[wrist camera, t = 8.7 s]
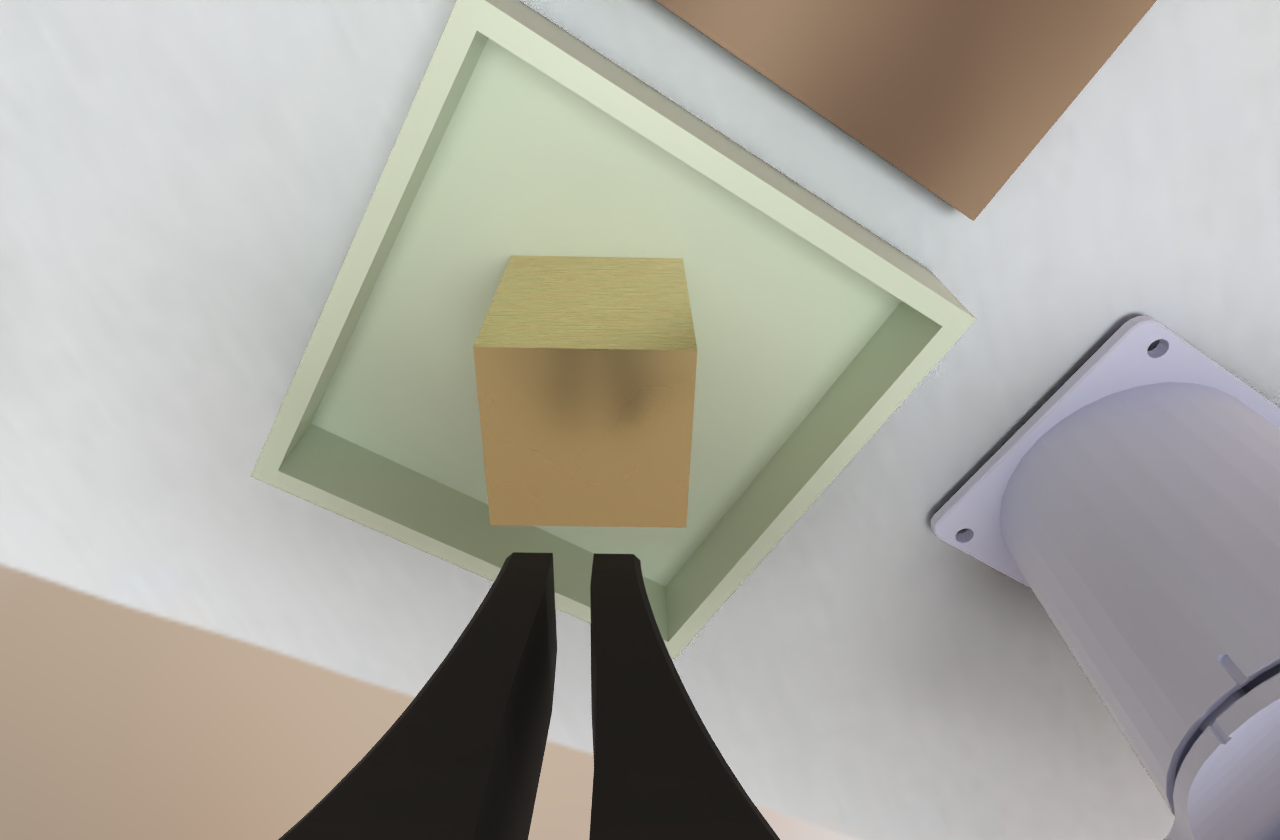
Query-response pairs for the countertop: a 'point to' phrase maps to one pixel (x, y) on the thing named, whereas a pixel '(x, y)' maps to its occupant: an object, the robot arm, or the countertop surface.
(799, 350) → the tray
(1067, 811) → the countertop surface
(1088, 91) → the countertop surface
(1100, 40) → the crank plate
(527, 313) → the block
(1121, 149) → the countertop surface
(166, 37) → the countertop surface
